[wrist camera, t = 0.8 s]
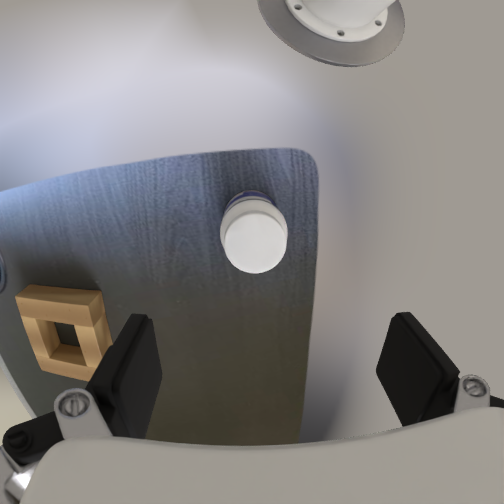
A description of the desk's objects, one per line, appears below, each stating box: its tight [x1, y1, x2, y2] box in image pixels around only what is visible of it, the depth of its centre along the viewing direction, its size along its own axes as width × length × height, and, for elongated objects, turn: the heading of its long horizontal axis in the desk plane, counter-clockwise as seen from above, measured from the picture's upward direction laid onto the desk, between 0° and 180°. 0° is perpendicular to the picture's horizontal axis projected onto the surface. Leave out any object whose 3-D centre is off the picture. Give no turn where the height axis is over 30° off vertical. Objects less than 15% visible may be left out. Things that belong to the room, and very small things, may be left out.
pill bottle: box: [220, 190, 287, 273], centre depth 27 cm, size 6×6×10 cm
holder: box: [15, 284, 113, 381], centre depth 34 cm, size 13×13×4 cm
